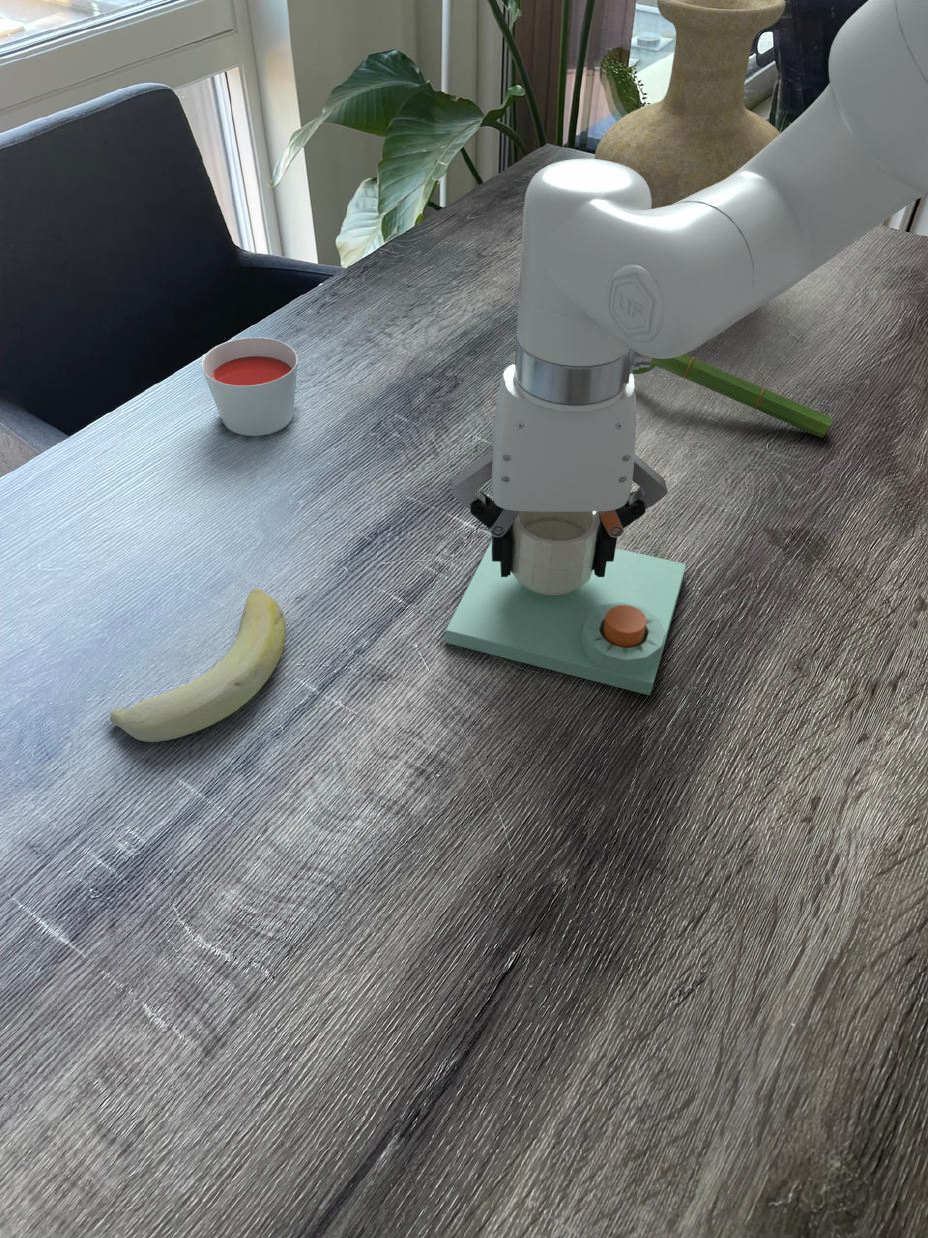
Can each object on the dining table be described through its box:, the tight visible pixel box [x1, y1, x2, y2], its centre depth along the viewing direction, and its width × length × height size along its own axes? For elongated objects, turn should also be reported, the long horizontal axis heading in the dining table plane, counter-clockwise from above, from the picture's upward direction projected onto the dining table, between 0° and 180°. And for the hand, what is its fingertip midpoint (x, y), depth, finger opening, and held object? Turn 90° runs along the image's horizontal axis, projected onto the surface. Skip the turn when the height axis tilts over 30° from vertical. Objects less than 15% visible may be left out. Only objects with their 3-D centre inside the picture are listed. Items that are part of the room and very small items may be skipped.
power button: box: [603, 605, 647, 648], centre depth 74 cm, size 3×3×2 cm
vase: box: [594, 0, 786, 209], centre depth 112 cm, size 22×22×30 cm
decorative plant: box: [632, 353, 834, 439], centre depth 101 cm, size 6×8×30 cm
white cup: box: [511, 511, 600, 595], centre depth 77 cm, size 7×7×6 cm
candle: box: [200, 336, 299, 437], centre depth 97 cm, size 9×9×6 cm
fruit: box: [109, 588, 287, 743], centre depth 72 cm, size 7×15×3 cm, turn 144°
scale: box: [445, 540, 687, 696], centre depth 79 cm, size 16×14×3 cm
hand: (551, 564), depth 79 cm, fingers closed on white cup, 6 cm apart
